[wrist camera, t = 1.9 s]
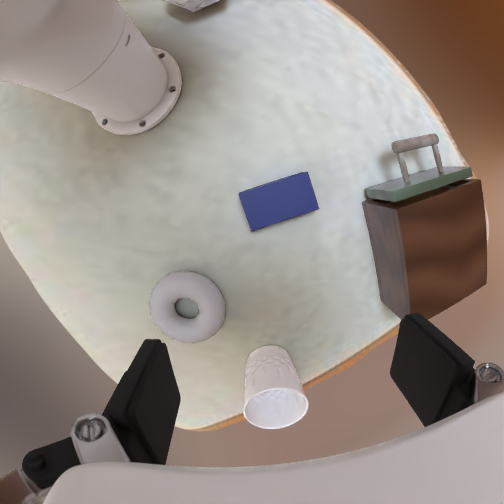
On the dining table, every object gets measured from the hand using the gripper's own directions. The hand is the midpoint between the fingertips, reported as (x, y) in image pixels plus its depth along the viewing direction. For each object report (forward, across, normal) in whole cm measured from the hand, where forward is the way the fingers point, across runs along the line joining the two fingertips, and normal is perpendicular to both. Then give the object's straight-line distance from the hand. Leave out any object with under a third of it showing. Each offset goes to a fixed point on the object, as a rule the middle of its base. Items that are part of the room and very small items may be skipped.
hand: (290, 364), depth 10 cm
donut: (+25, +10, +8) cm, 28 cm away
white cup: (+25, -1, +19) cm, 31 cm away
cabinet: (+25, -23, +2) cm, 34 cm away
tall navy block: (+25, -3, -4) cm, 25 cm away
